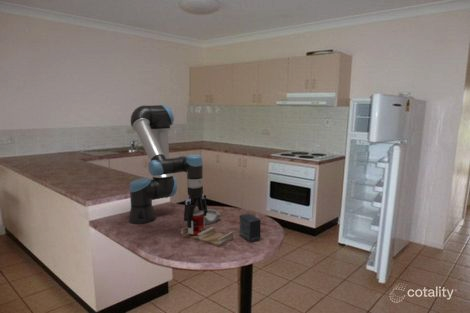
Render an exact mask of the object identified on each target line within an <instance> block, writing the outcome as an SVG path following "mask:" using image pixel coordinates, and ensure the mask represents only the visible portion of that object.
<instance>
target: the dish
mask: <svg viewBox="0 0 470 313" xmlns="http://www.w3.org/2000/svg"><path fill="white" fill-rule="evenodd" d="M207 211H208V213H206V214H207V215H206V216H205V221H204V222H205V225H211V224H213V223H217V222H218V221H219V218H221V213H220V212H218V210H216V209H211V208H210V209H208V208H207Z"/></svg>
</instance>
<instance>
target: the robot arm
mask: <svg viewBox="0 0 470 313" xmlns="http://www.w3.org/2000/svg"><path fill="white" fill-rule="evenodd" d="M174 118H175V117H174V113H173V111H172V108H171V107H169V106H168V105H164V104H163V105H161V104H160V105H157V104H156V105H140V106H138V107H136V108H135V109H134V110H133V112H132V113H131V116H130V126H131V128H132V130H133V131H134V132H136V134H137V137H138V138H139V141H140V142H141V144H142V146H143V149H144V151H145V152H146V155H147V157H148V159H149V162H148V167H147V168H148V172H149V174H150V175H151V176H152V179H151V178H150V177H141V178H137V179H134V180H132V181H131V182H130V183H129V196H130V197H129V198H130V210H129V215H128V222H129V223H131V224H135V225H137V224H138V225H140V224H143V225H144V224H148V223H151V222H154V221H155V220H156V219H157V216H156V212H155V209H154V208H153V202H152V201H155V200H159V199H165V198H166V199H167V198H170V197H171V198H172V197H173V196H175V194H176V193H177V190H178V182H177V179H176V177H174V175H173V174H176V173H177V174H178V173H186V182H187V183H186V184H187V195H188V199H187V200H184V201H183V202H184V211H183V221H185V222H187V223H186V225H187V226H186V227H188V233H189V234H193V221H192V217H193V213H194V210H196V208H197V210H202V211H203V212H204V221H205V216H206V215H207V214H206V213H208V211H207V210H208V205H207V195H206V194H204V187H203V183H204V182H203V157H202V155H200V154H188V155H186V156H185V155H179V156H177V157H172V158H170V151H169V150H170V149H169V145H170V144H169V133H168V132H169V131H170V130H171V126H172V125H173V124H174V120H175V119H174ZM189 218H190V219H189ZM205 225H206V224H205V222H204V229H205V228H206V227H205Z"/></svg>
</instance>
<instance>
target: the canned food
mask: <svg viewBox="0 0 470 313" xmlns="http://www.w3.org/2000/svg"><path fill="white" fill-rule="evenodd" d="M189 219H190V218H189ZM192 221H193V234H190V235H193V236H198V234H199V233H201V232H203V231H204V229H205V228H204V212H203V211H202V210H199V209H194V213H193V217H192Z"/></svg>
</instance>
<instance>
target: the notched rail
mask: <svg viewBox="0 0 470 313" xmlns="http://www.w3.org/2000/svg"><path fill="white" fill-rule="evenodd" d="M180 236H181V237H183V238H186V239H190V240H193V241H197V242H201V243H204V244H207V245H211V246H214V247H217V248H221V247H222V246H224V245H225V244H227V243H228V242H229V243H230V242H231V241H232V240H233V239H234V232H233V231H230V232H228V233H227V234H224V233H221V232H216V227H214V226H211V227H209V228H207V229H205V228H204V231H203V232H201V233H199V234H198V236H193V235H190V234H189V233H188V227H187V226H186V227H183V228H181V229H180Z"/></svg>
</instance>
